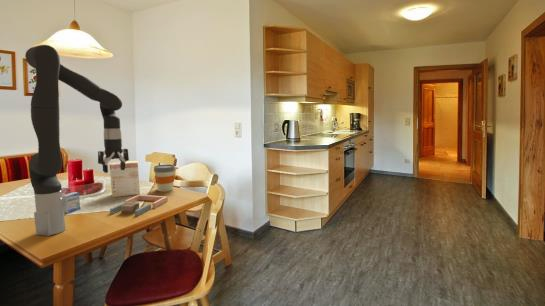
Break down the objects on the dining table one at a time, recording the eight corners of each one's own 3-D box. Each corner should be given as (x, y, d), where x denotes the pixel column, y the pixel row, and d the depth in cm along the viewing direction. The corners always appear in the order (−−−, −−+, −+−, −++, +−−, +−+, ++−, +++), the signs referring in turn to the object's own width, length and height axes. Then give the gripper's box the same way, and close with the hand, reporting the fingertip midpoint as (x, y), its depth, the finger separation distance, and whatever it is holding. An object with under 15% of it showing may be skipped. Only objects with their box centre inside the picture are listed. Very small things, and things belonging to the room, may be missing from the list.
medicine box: (68, 213, 152) (66, 196, 151) (60, 213, 153) (58, 196, 152) (80, 208, 160) (79, 192, 159) (73, 208, 161) (71, 191, 160)
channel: (137, 215, 150) (137, 210, 149) (110, 213, 152) (109, 208, 152) (150, 208, 160) (150, 203, 160) (124, 206, 163) (124, 202, 163)
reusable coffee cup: (151, 189, 197) (149, 166, 195) (168, 186, 206) (167, 163, 204) (161, 193, 189) (160, 169, 187) (179, 189, 198) (178, 166, 196)
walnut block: (132, 214, 153) (131, 206, 152) (121, 213, 154) (120, 205, 153) (139, 210, 158) (139, 202, 158) (128, 209, 159) (128, 202, 159)
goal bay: (155, 207, 161) (155, 203, 161) (124, 205, 165) (123, 201, 165) (167, 200, 174) (167, 196, 173) (138, 199, 177) (138, 194, 177)
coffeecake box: (139, 191, 193) (137, 160, 190) (140, 194, 186) (138, 162, 183) (112, 194, 187) (110, 162, 184) (111, 197, 180) (109, 164, 177)
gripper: (102, 139, 141) (104, 174, 144) (131, 137, 154) (132, 169, 156) (93, 138, 145) (95, 172, 147) (121, 136, 157) (123, 168, 159)
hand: (114, 171), depth 151 cm, fingers open, 8 cm apart
